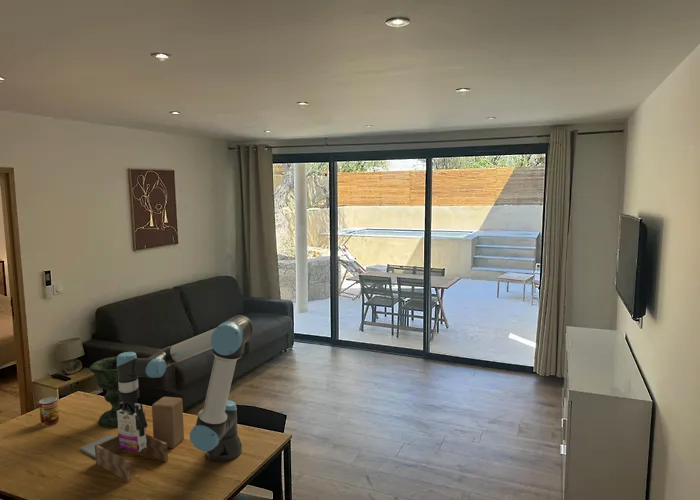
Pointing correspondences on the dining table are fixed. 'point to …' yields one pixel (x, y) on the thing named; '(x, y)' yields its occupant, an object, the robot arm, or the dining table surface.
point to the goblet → (108, 388)
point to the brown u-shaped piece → (119, 465)
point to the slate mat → (91, 447)
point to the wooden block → (168, 420)
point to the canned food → (49, 411)
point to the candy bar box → (129, 431)
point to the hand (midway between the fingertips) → (132, 439)
